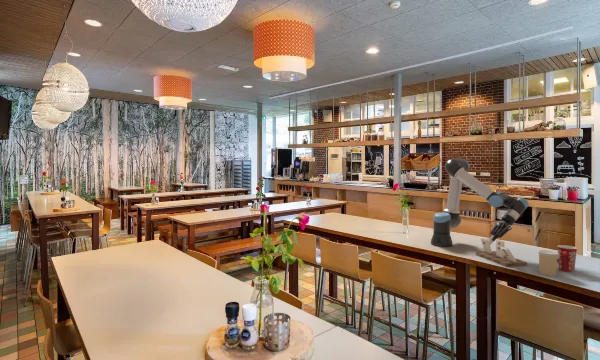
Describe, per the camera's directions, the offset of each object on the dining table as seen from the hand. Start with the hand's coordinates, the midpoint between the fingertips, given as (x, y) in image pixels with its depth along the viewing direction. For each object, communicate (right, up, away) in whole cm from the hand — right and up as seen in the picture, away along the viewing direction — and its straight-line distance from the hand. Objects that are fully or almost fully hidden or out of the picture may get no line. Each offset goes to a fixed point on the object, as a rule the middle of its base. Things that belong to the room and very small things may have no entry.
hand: (488, 243), depth 226 cm
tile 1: (0, -6, 0) cm, 6 cm away
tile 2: (+2, -7, -9) cm, 12 cm away
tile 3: (+4, -7, -19) cm, 21 cm away
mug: (+27, -10, -30) cm, 42 cm away
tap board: (+3, -9, -9) cm, 13 cm away
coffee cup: (+14, -10, -35) cm, 39 cm away
